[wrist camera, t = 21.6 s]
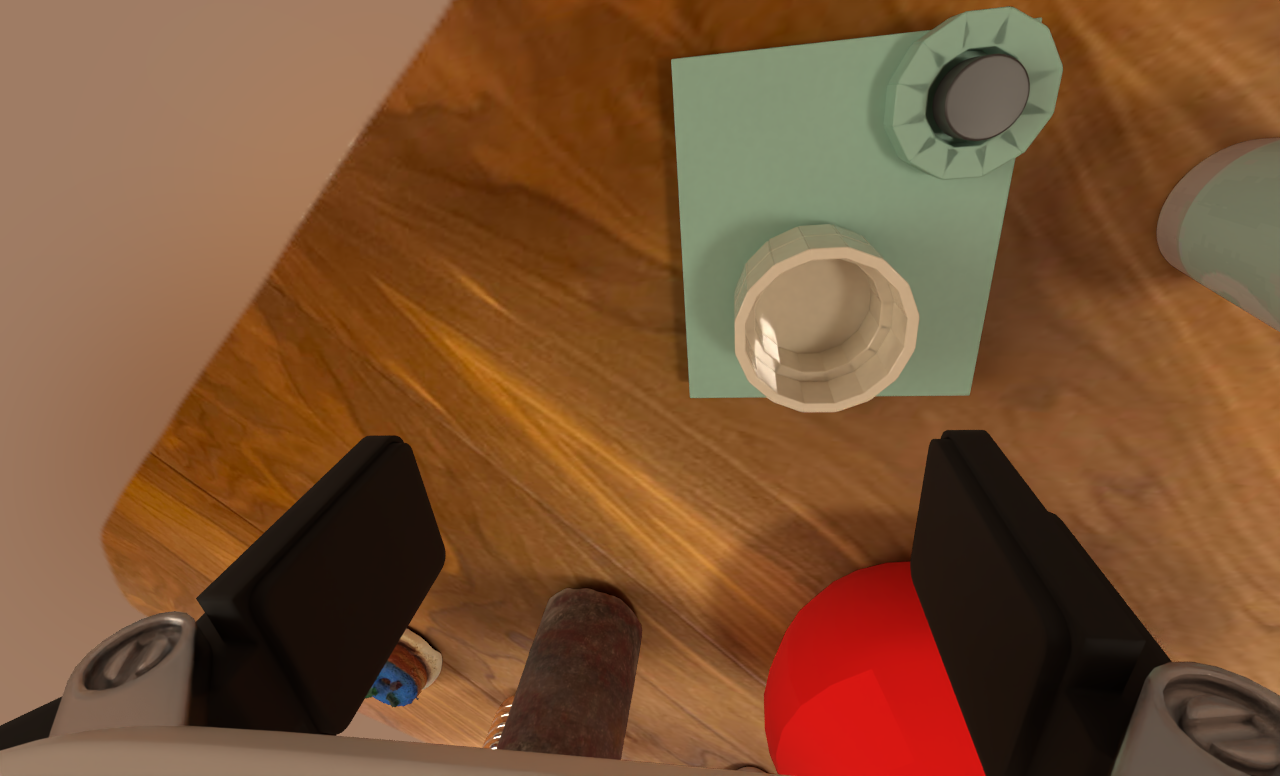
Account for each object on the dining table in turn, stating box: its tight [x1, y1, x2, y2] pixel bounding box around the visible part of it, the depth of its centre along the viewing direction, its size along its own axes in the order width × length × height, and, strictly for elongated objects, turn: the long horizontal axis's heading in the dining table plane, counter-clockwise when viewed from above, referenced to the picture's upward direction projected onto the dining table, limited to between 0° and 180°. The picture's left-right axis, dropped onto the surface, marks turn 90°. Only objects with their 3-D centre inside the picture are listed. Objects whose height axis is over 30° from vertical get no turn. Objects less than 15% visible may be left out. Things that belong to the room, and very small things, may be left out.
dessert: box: [365, 628, 442, 707], centre depth 47 cm, size 8×7×6 cm
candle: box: [496, 588, 642, 760], centre depth 33 cm, size 8×7×20 cm
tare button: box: [932, 54, 1030, 141], centre depth 21 cm, size 3×3×2 cm
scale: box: [671, 6, 1063, 398], centre depth 26 cm, size 16×14×4 cm
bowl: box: [734, 224, 920, 412], centre depth 25 cm, size 7×7×5 cm
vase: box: [764, 562, 986, 776], centre depth 30 cm, size 18×18×19 cm
